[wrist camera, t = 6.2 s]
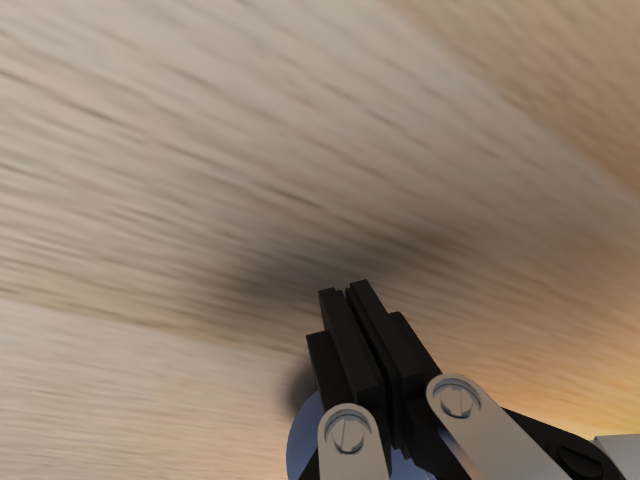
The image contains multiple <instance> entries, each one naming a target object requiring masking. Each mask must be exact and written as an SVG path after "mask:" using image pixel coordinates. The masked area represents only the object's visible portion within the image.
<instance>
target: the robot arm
mask: <svg viewBox="0 0 640 480" xmlns="http://www.w3.org/2000/svg"><path fill="white" fill-rule="evenodd" d="M345 293H346V299H345V296H344V294H343V292H342V290H338V291H336V290H335V288H334V287H332V288H328V289H324V290H320V291H318V294H319V300H320V306H321V312H322V318H323V324H324V330H325V331H321V332H317V333H313V334H310V335H306V339H307V344H308V349H309V354H310V358H311V362H312V367H313V371H314V375H315V379H316V383H317V387H318V391H319V395H320V399H321V403H322V407H323V411H324V416H323V417H322V419H321V421H320V423H319V426H318V435H317V437H318V447H317V448H316V450H315V452H314V453H313V455H312V457H311V458H310V460H309V462H308V464H307V465H306V467H305V469H304V470H303V472H302V474H301V475H300V477H299V479H298V480H390V477H391V475H392V458H391V445H392V447H393V449H394V450H397V449H400V450H401V452H402V455H403V457H404V459H405V460H407V459H410V458H412V460H413V462H414V465H415V466H417V467H419V468H421V469H423V470H425V472H426V474H427V476H428V478H429V480H640V434H628V435H609V436H595V439H594V440H591V441H588V440H586V439H584V438H581V437H579V436H577V435H575V434H572V433H569V432H567V431H564V430H561V429H559V428H556V427H553V426H551V425H548V424H545V423H543V422H540V421H537V420H535V419H532V418H529V417H527V416H524V415H521V414H519V413H516V412H513V411H511V410H508V409H505V408H503V407H500V406H499V405H498V404H497V403H496V402H495V401H494V400H493V399H492V398H491V397H490V396H489V395H488V394H487V393H486V392H485V391H484V390H483V389H482V388H481V387H480V386H479V385H478V384H476V383H475V382H474V381H473V380H471V379H469V378H467V377H465V376H462V375H458V374H454V373H453V374H443V373H442V372H441V370H440V369H439V368H438V366H437V365H436V363H435V362H434V360H433V359H432V357H431V356H430V354H429V353H428V351H427V350H426V349H425V347H424V346H423V344H422V343H421V341H420V340H419V338H418V337H417V335H416V334H415V332H414V331H413V330H412V328H411V327H410V325H409V324H408V322H407V321H406V319H405V318H404V316H403V315H402V314H401V313H400V312H399V311H397V312H393V313H389V314H388V313H387V311H386V309H385V308H384V306H383V305H382V303H381V302H380V300H379V298H378V297H377V295H376V294H375V292H374V290H373V289H372V287H371V286H370V284H369V282H368V281H367V280H366V279H365V280H361V281H357V282H353V283H350V288H346V289H345Z"/></svg>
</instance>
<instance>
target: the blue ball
mask: <svg viewBox="0 0 640 480" xmlns="http://www.w3.org/2000/svg"><path fill="white" fill-rule="evenodd" d="M323 416H324V411H323V407H322V403H321V399H320V395H319V391H318V390H317V391H316V392H315V393H313V394H312V395H311V396H310V397H309V398H308V399H307V400H306V401H305V403H304V404H303V405H302V407H301V408H300V410H299V411H298V413H297V415H296V417H295V419H294V421H293V424H292V426H291V429H290V433H289V437H288V442H287V450H286V465H287V474H288V479H289V480H298V479H299V477H300V475H301V474H302V472H303V470H304V469H305V467H306V465H307V464H308V462H309V460H310V458H311V457H312V455H313V453H314V452H315V450H316V448H317V447H318V437H317V435H318V426H319V423H320V421H321V419H322V417H323ZM391 458H392V475H391V477H390V480H427V478H428V476H427V474H426V472H425V470H423V469H421V468H419V467H417V466H415V465H414V462H413V460H412V458H410V459H407V460H405V459H404V457H403V455H402V452H401V450H400V449H397V450H394V449H393V447H392V445H391Z"/></svg>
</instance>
